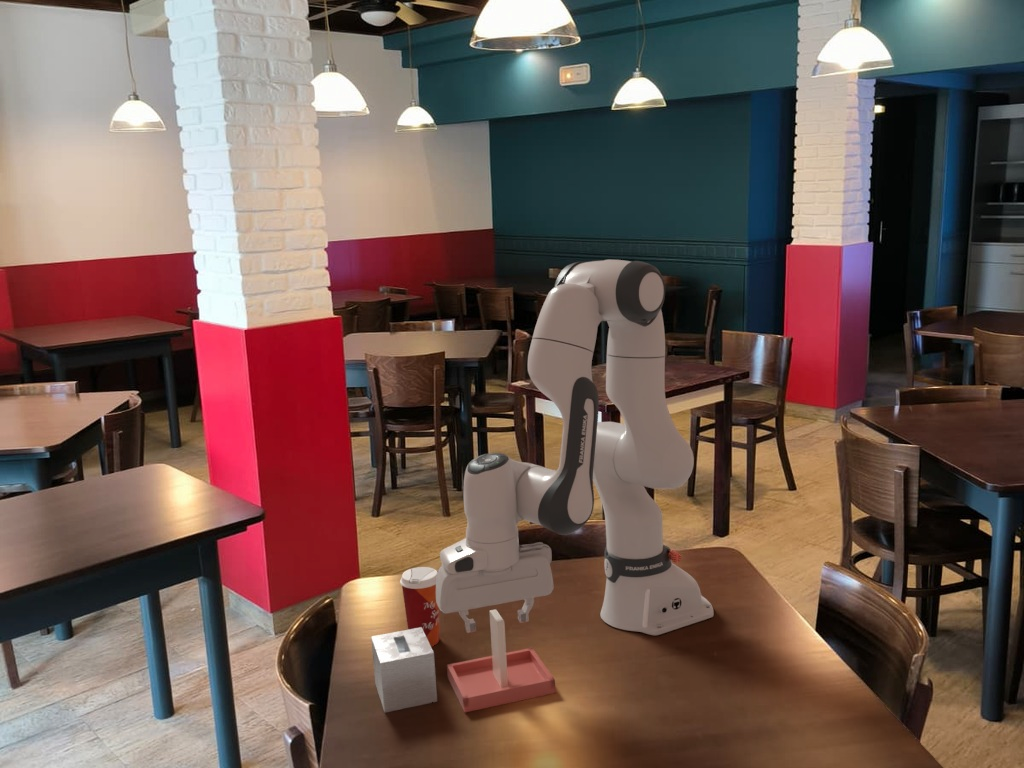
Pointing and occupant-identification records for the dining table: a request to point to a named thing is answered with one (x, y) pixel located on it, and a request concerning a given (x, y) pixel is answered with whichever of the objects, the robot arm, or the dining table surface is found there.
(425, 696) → the dispenser
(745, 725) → the dining table surface
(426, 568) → the paper cup
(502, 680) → the long rectangular block
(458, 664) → the tray
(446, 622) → the dining table surface
